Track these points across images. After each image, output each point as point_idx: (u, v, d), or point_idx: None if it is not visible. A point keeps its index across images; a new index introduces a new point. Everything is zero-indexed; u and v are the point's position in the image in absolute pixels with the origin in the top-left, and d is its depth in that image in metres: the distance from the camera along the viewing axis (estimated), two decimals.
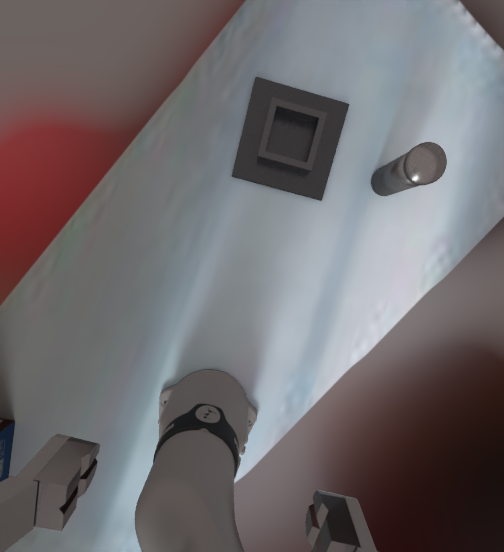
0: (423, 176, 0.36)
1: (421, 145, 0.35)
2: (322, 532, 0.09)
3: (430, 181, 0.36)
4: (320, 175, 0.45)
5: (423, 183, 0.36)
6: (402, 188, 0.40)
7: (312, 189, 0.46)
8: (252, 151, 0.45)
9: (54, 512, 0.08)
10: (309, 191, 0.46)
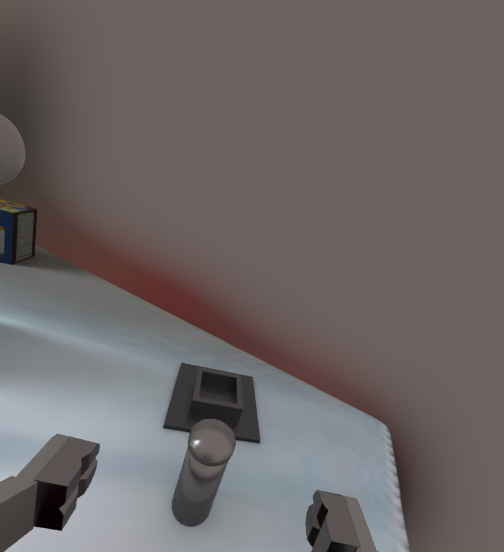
0: (198, 434, 0.30)
1: (229, 428, 0.32)
2: (322, 532, 0.09)
3: (193, 443, 0.29)
4: (189, 421, 0.44)
5: (190, 438, 0.30)
6: (183, 463, 0.31)
7: (174, 415, 0.44)
8: None
9: (54, 512, 0.08)
10: (172, 413, 0.44)
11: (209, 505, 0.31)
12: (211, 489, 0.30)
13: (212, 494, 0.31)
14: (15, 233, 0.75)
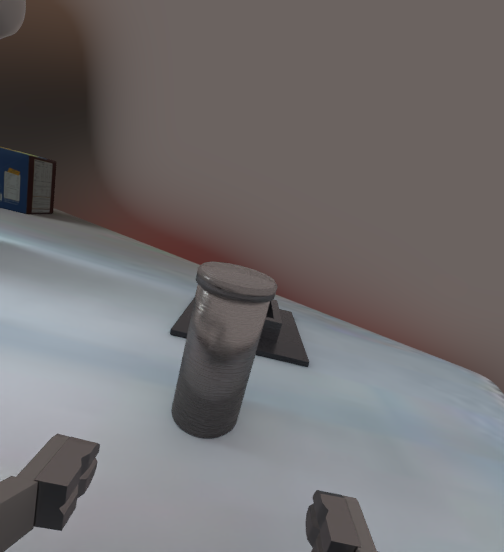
0: (212, 266, 0.18)
1: (265, 275, 0.19)
2: (322, 532, 0.09)
3: (204, 269, 0.17)
4: None
5: (199, 268, 0.17)
6: None
7: (186, 324, 0.32)
8: None
9: (54, 512, 0.08)
10: (184, 322, 0.32)
11: (233, 401, 0.18)
12: (236, 360, 0.17)
13: (238, 375, 0.17)
14: (31, 179, 0.71)
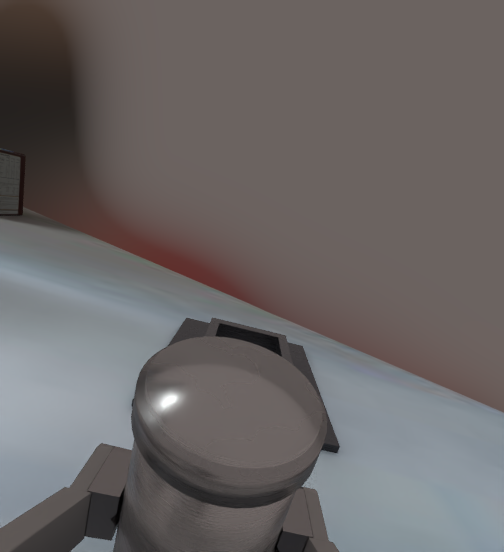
0: (176, 366, 0.08)
1: (291, 367, 0.09)
2: None
3: (148, 393, 0.06)
4: None
5: (142, 378, 0.07)
6: None
7: None
8: None
9: (105, 522, 0.08)
10: None
11: None
12: None
13: None
14: None
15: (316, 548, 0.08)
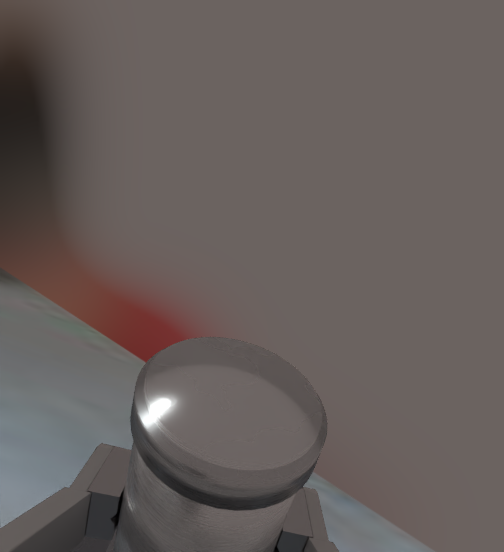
0: (175, 367, 0.08)
1: (291, 368, 0.09)
2: None
3: (147, 395, 0.06)
4: None
5: (141, 379, 0.07)
6: None
7: None
8: None
9: (105, 522, 0.08)
10: None
11: None
12: None
13: None
14: None
15: (316, 548, 0.08)
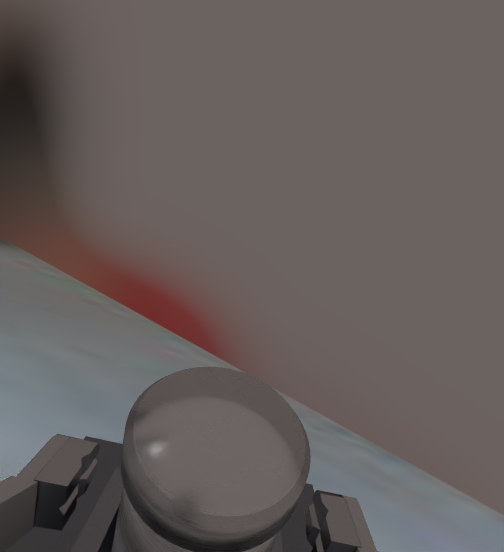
0: (165, 405, 0.08)
1: (279, 398, 0.10)
2: (322, 532, 0.09)
3: (136, 437, 0.07)
4: None
5: (131, 418, 0.07)
6: None
7: None
8: None
9: (54, 512, 0.08)
10: None
11: None
12: None
13: None
14: None
15: None
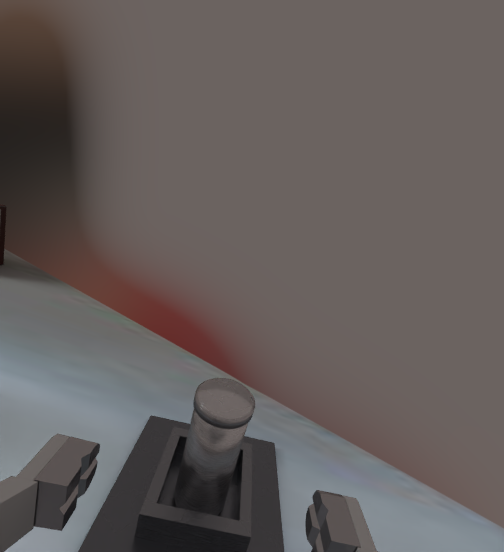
0: (206, 391, 0.23)
1: (247, 390, 0.25)
2: (322, 532, 0.09)
3: (199, 399, 0.22)
4: None
5: (196, 394, 0.23)
6: (188, 433, 0.24)
7: None
8: None
9: (54, 512, 0.08)
10: (93, 546, 0.20)
11: (222, 493, 0.23)
12: (223, 466, 0.22)
13: (225, 476, 0.23)
14: None
15: None
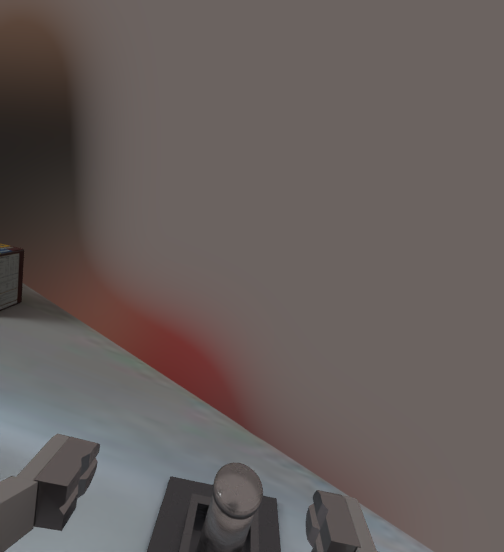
0: (223, 481, 0.29)
1: (255, 475, 0.30)
2: (322, 532, 0.09)
3: (218, 492, 0.27)
4: None
5: (215, 486, 0.28)
6: (207, 512, 0.30)
7: None
8: None
9: (54, 512, 0.08)
10: None
11: None
12: (237, 544, 0.28)
13: (238, 550, 0.28)
14: None
15: None
